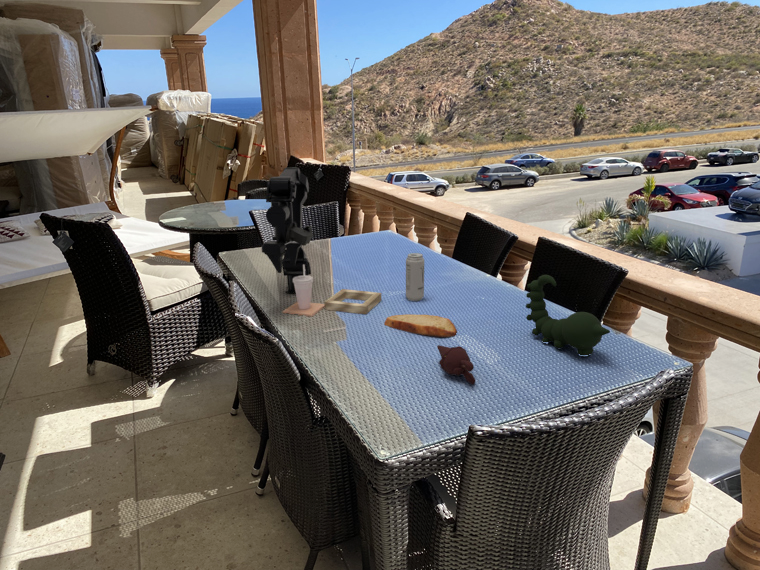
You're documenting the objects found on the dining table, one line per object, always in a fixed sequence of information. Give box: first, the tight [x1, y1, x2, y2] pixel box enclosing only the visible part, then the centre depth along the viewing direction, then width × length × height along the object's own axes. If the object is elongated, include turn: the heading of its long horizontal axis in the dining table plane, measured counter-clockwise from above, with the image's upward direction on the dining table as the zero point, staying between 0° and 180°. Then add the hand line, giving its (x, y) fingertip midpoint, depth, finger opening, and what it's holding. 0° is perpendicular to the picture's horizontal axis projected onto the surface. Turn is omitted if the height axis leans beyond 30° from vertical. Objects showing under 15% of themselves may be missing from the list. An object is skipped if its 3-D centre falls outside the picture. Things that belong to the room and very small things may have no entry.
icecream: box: [436, 344, 476, 385], centre depth 124 cm, size 7×7×15 cm
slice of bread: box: [383, 313, 458, 338], centre depth 151 cm, size 18×18×4 cm
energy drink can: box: [405, 252, 425, 302], centre depth 174 cm, size 6×6×15 cm
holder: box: [323, 288, 382, 315], centre depth 170 cm, size 14×14×2 cm
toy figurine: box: [525, 274, 611, 355], centre depth 135 cm, size 9×19×25 cm
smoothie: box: [293, 264, 314, 309], centre depth 165 cm, size 6×6×14 cm
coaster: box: [282, 301, 325, 318], centre depth 167 cm, size 10×10×1 cm
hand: (286, 268), depth 165 cm, fingers open, 9 cm apart
